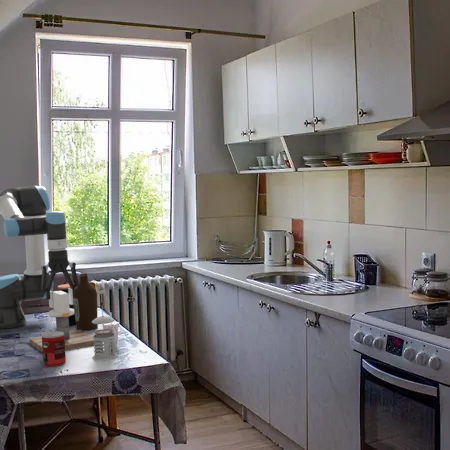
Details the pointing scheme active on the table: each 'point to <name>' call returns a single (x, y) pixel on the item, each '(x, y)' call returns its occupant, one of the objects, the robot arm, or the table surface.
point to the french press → (104, 339)
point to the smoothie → (113, 329)
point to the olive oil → (85, 304)
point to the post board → (72, 338)
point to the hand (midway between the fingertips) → (61, 305)
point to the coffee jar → (71, 317)
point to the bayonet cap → (61, 305)
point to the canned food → (53, 348)
